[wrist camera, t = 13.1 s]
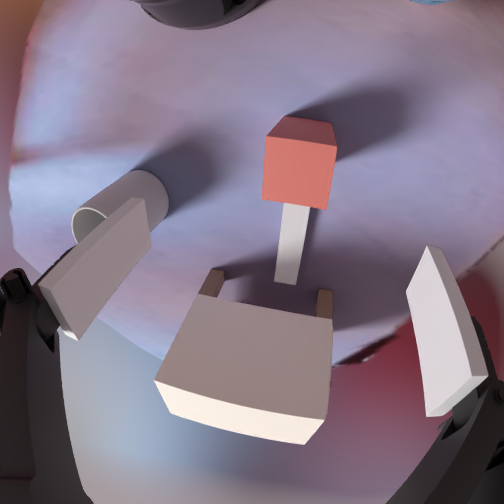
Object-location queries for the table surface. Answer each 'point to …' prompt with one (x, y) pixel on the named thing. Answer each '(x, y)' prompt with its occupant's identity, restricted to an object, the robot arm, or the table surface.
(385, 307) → the table surface
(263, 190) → the red mallet
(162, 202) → the mug
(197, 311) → the cabinet
